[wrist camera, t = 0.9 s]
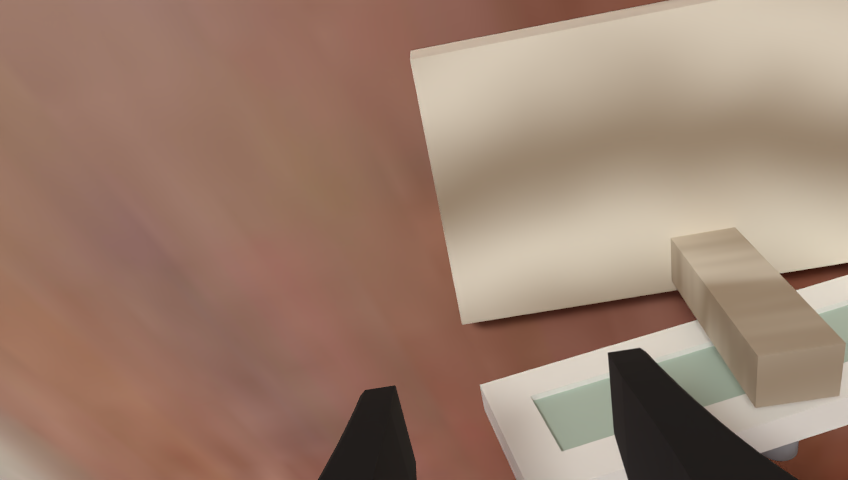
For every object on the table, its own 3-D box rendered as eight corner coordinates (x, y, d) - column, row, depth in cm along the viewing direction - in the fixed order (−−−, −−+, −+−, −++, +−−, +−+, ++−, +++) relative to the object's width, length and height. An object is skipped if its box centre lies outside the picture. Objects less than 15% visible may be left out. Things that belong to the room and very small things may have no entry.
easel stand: (931, 228, 22) (1141, 364, 16) (460, 305, 24) (476, 460, 17) (983, -61, 18) (1294, -37, 12) (410, 50, 20) (406, 128, 13)
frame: (883, 303, 22) (1018, 384, 18) (487, 424, 21) (539, 541, 17) (890, 262, 22) (1031, 337, 18) (480, 384, 20) (533, 497, 16)
